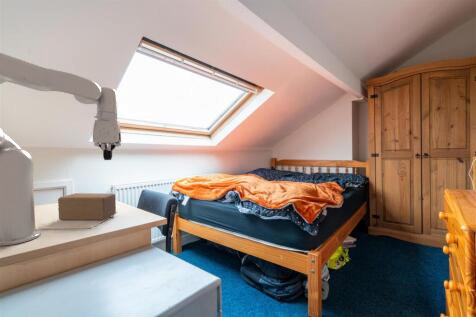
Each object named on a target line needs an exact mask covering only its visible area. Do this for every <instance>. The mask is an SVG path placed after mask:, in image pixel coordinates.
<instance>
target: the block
mask: <svg viewBox="0 0 476 317" xmlns="http://www.w3.org/2000/svg"><path fill="white" fill-rule="evenodd" d="M57 202H58V203H57V206H58V208H57V209H58V210H57V211H58V219H59V220H105V219H106V220H108V219H109V217H110V218H111V217H113V216H115V215H116V214H117V213H116V211H117V208H116V207H117V206H116V202H117V201H116V193H85V192H84V193H82V192H80V193H70V194H67V195H63V196H60V197H59V198H58V199H57ZM107 218H108V219H107ZM106 220H105V221H106Z"/></svg>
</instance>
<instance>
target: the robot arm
mask: <svg viewBox="0 0 476 317" xmlns="http://www.w3.org/2000/svg"><path fill="white" fill-rule="evenodd" d="M6 82H7V83H11V84H15V85H18V86H21V87H26V88H28V89H32V90H34V91H40V92H59V93H64V94H70V95H72V96H73V98H74V99H75V100H76V101H77V102H79V103H80V104H84V105H96V106H97V107H96V114H94V115H93V117H94V118H96V119H94V123H93V128H92V129H93V130H92V142H93V146H95V147H97V148H100V149H101V151H102V156H103V160H104V161H111V160H112V158H113V151H114V150H115V149H116V148H118V147H121V146H122V132H121V125H120V121H119V120H118V93H117V91H116V89H115V88H114V89H113V88H111V87H100V86H99V84H97V82H95V81H92V80H91V79H88V78H85V77H82V76H79V75H77V74H73V73H71V72H70V73H69V72H65V71H61V70H56V69H51V68H47V67H43V66H39V65H37V64H34V63H33V62H29V61H26V60H23V59H20V58H17V57H14V56H12V55H9V54H5V53H3V52H0V85H1V84H4V83H6ZM34 193H35V192H34V161H33V157H32V155H31V153H29V152H28V151H27V150H25V149H23V148H21V147H20V146H19V145H18V144H17V143H16V142H15V141H14V140H13V139H11V138H10V137H9V136H8V135H7V134H6V133H5V132H4V131H3V129H2V128H1V127H0V247H1V246H2V247H3V246H12V245H17V244H18V245H19V244H22V243H26V242H29V241H31V240H34V239H36V238H38V237H40V236H41V235H42V230H38V228H37V229H36V214H35V212H36V211H35V194H34Z"/></svg>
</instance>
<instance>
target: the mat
mask: <svg viewBox="0 0 476 317" xmlns="http://www.w3.org/2000/svg"><path fill="white" fill-rule="evenodd" d="M116 214H118V211H117V210H116ZM109 218H111V217H109ZM109 218H107V219H105V220H59V218H58V219H56V220H54V221H52V222H49V223H47V224H45V225H42V226H39V227H38V228H37V229H38V230H41V231H43V230H73V229H79V230H80V229H93V228H95V227H97V226H98V225H100V224H102V223H103V222H105V221H107V220H108V219H109Z"/></svg>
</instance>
